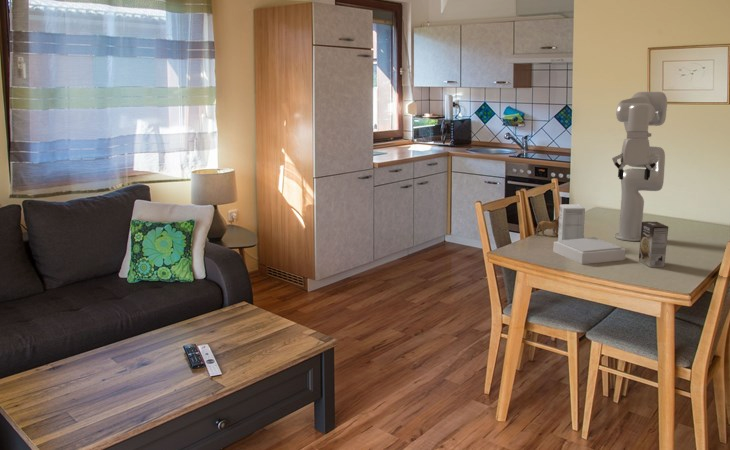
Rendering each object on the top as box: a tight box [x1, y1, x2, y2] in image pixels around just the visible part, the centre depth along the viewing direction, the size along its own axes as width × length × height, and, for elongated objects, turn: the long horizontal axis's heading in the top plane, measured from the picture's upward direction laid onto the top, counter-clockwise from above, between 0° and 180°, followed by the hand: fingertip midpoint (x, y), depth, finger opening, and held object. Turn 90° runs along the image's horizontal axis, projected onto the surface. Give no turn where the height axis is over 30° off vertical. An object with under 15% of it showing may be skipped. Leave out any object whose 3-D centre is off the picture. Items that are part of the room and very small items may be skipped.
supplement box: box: [557, 203, 586, 241], centre depth 290 cm, size 10×9×17 cm
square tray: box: [552, 236, 626, 265], centre depth 271 cm, size 20×20×5 cm
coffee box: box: [638, 221, 669, 268], centre depth 258 cm, size 9×6×16 cm
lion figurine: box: [533, 215, 559, 237], centre depth 307 cm, size 15×5×9 cm, turn 102°
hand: (633, 179), depth 263 cm, fingers open, 9 cm apart
